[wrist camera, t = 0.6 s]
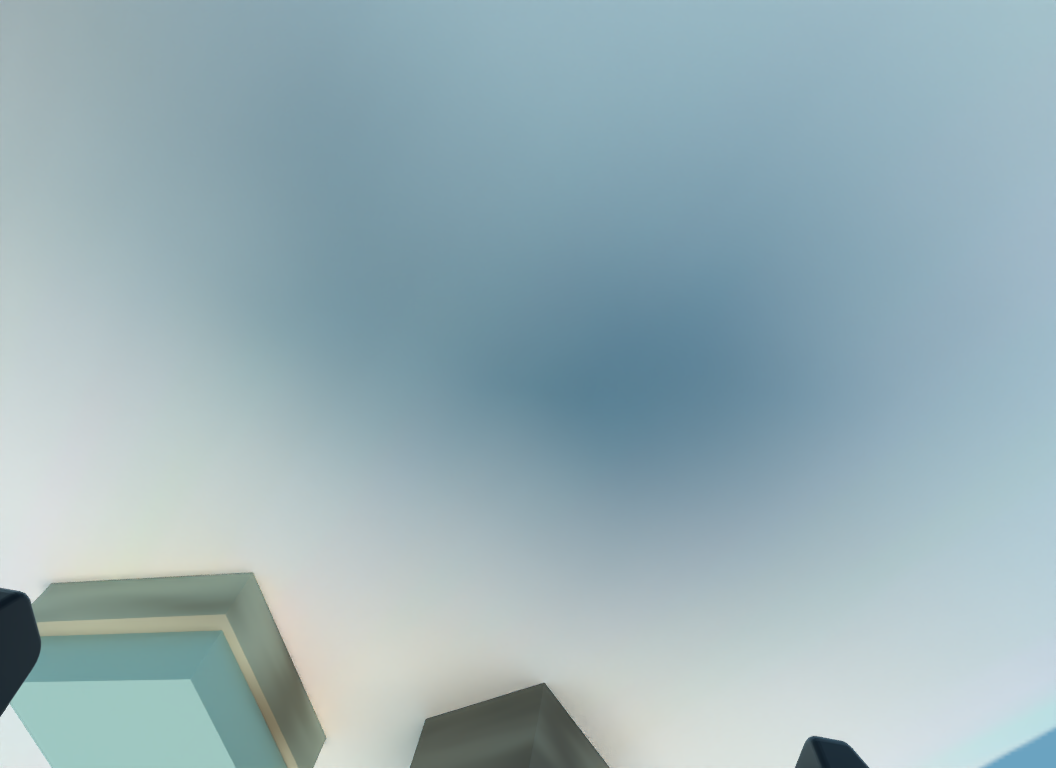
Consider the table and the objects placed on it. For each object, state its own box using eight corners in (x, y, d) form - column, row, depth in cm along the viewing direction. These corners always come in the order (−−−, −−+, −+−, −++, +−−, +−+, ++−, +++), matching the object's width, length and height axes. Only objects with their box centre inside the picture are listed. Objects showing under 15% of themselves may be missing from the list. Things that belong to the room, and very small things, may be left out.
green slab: (38, 636, 28) (-4, 682, 27) (222, 630, 27) (190, 679, 25) (122, 775, 32) (90, 825, 30) (292, 778, 30) (268, 830, 28)
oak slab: (61, 572, 30) (14, 623, 28) (260, 561, 29) (225, 614, 26) (149, 726, 34) (113, 782, 32) (331, 725, 32) (306, 784, 30)
